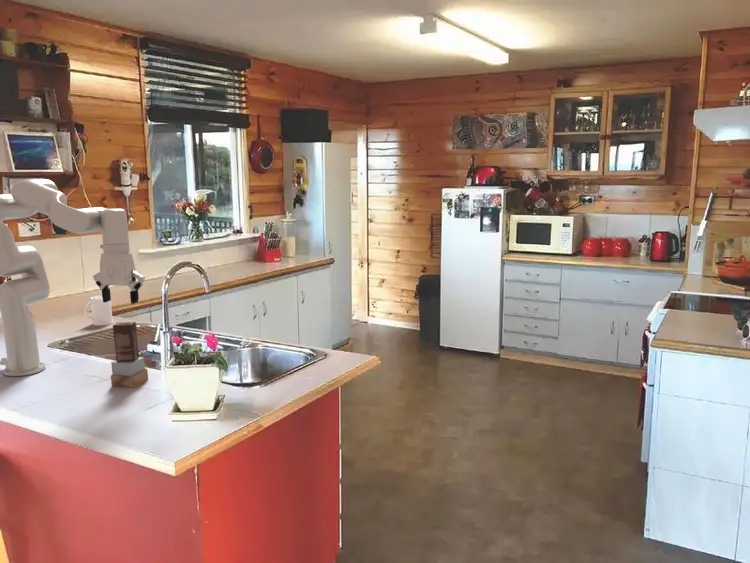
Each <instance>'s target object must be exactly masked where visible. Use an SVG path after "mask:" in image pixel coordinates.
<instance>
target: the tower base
mask: <svg viewBox="0 0 750 563" xmlns="http://www.w3.org/2000/svg"><path fill="white" fill-rule="evenodd" d="M110 380H111V381H110V383H111V387H112V388H128V389H129V388H130V389H131V388H132V389H135V388H137V387H139V386H140V385H142V384H144V383H145V382H146V381H148V380H149V371H148V368H145V370H143V371H141V372H139V373H137V374H135V375H133V376H123V375H113V374H111V375H110Z"/></svg>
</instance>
